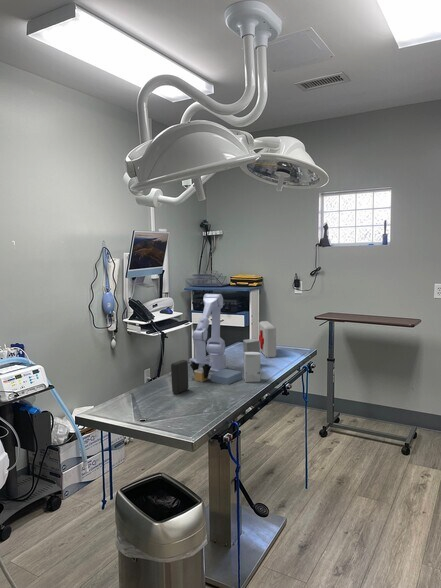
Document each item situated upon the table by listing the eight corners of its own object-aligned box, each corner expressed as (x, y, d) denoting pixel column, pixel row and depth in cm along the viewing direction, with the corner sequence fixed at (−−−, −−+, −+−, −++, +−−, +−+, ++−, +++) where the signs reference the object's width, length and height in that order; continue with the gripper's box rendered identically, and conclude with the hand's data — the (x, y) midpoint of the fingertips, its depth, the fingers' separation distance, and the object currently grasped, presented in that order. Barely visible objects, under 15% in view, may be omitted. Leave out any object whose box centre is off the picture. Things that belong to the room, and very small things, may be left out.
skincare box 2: (245, 382, 226) (244, 354, 225) (244, 378, 232) (243, 351, 231) (261, 381, 226) (260, 353, 225) (259, 378, 232) (259, 351, 231)
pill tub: (200, 377, 236) (200, 367, 236) (208, 379, 233) (207, 369, 233) (194, 380, 232) (194, 370, 232) (202, 382, 229) (201, 371, 229)
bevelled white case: (257, 350, 293) (257, 321, 291) (269, 349, 294) (268, 320, 292) (264, 358, 273) (263, 327, 270) (276, 357, 273) (276, 326, 271)
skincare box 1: (256, 363, 261) (255, 337, 259) (260, 366, 254) (260, 340, 252) (242, 365, 258) (242, 339, 256) (247, 368, 251) (246, 341, 250)
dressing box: (225, 375, 240) (225, 368, 240) (241, 379, 233) (241, 371, 233) (210, 382, 230) (210, 374, 229) (227, 385, 223) (227, 378, 223)
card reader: (183, 388, 220) (182, 359, 218) (189, 389, 218) (188, 360, 216) (171, 393, 213) (170, 363, 211) (177, 394, 210) (176, 364, 209)
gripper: (185, 352, 232) (186, 376, 234) (206, 355, 224) (207, 381, 225) (193, 349, 238) (194, 373, 239) (214, 352, 229) (215, 377, 231)
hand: (201, 377), depth 233 cm, fingers open, 6 cm apart
